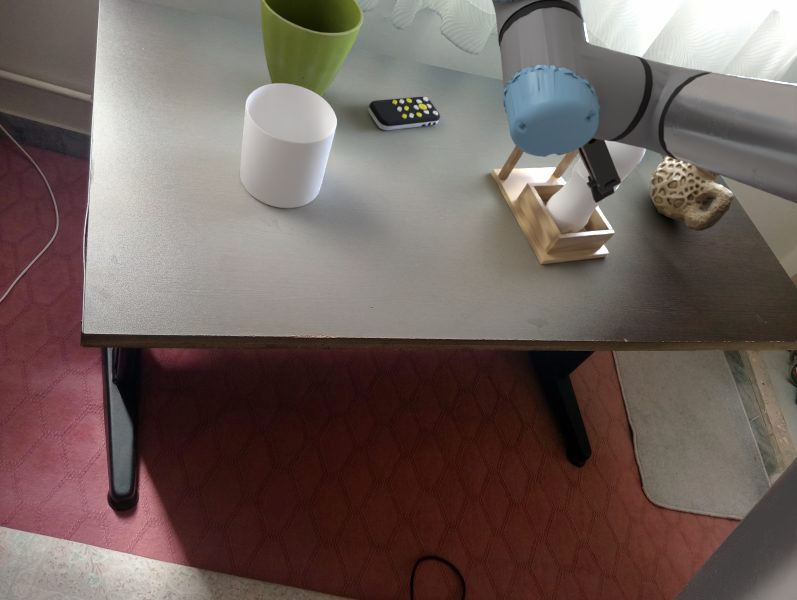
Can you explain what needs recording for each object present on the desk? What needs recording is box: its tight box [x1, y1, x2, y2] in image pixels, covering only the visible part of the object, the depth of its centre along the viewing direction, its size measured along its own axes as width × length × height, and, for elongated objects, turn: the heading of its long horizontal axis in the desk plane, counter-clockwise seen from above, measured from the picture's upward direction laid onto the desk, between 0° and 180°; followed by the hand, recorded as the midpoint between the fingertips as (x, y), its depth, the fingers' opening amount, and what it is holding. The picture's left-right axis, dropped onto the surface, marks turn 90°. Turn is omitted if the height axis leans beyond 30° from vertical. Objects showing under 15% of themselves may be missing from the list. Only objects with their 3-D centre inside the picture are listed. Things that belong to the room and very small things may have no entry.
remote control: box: [367, 96, 441, 131], centre depth 95 cm, size 6×13×2 cm, turn 118°
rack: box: [490, 145, 616, 265], centre depth 84 cm, size 20×15×21 cm
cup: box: [239, 83, 338, 209], centre depth 74 cm, size 12×12×12 cm
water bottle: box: [546, 140, 647, 234], centre depth 81 cm, size 7×7×25 cm
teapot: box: [648, 154, 735, 232], centre depth 98 cm, size 21×12×15 cm, turn 1°
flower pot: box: [259, 0, 364, 98], centre depth 84 cm, size 15×15×16 cm
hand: (579, 160), depth 77 cm, fingers open, 13 cm apart
